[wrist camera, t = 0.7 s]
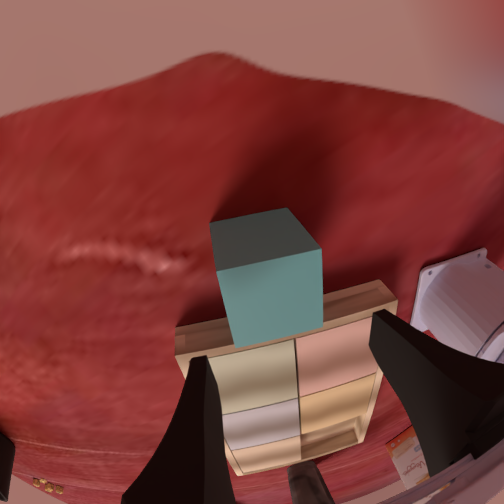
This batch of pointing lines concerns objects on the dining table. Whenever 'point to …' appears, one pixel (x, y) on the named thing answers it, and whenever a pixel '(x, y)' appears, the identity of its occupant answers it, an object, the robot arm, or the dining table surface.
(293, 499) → the beverage cup
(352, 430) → the puzzle board
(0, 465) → the pen holder
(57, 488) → the popcorn pieces
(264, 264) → the teal block
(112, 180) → the dining table surface
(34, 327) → the dining table surface
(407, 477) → the cracker box
